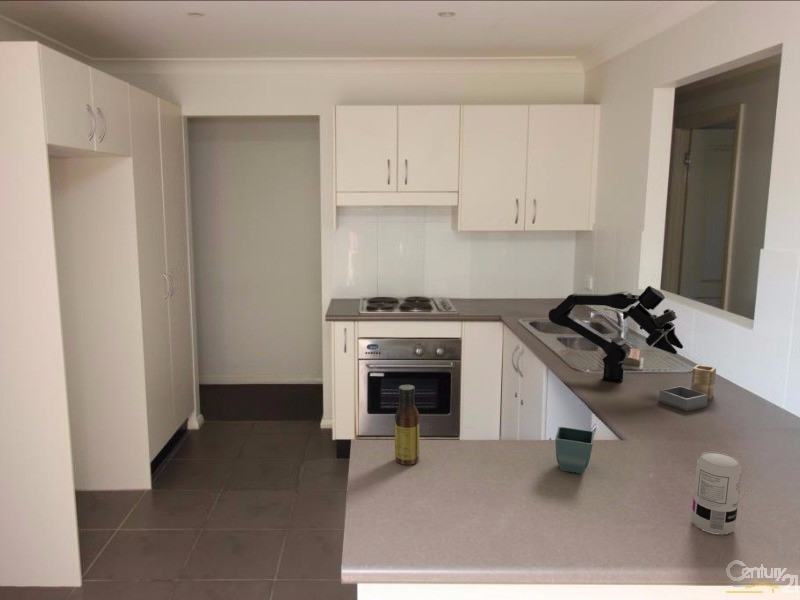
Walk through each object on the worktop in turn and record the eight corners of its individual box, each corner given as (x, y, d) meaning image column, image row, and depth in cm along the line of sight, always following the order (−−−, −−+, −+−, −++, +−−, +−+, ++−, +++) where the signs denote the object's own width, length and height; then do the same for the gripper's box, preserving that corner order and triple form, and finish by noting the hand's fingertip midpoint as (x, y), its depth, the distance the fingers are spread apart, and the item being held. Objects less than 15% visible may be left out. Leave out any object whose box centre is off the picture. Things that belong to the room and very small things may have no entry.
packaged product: (618, 346, 263) (644, 348, 259) (618, 357, 264) (643, 360, 260) (616, 356, 246) (643, 359, 243) (615, 368, 247) (642, 371, 244)
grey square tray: (658, 401, 208) (660, 390, 207) (679, 397, 213) (680, 385, 212) (685, 411, 199) (687, 399, 199) (706, 406, 204) (708, 394, 203)
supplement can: (683, 516, 135) (689, 450, 133) (720, 515, 136) (727, 450, 133) (704, 537, 127) (712, 468, 125) (743, 536, 128) (751, 466, 125)
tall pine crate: (690, 396, 214) (693, 368, 212) (694, 392, 218) (697, 364, 217) (709, 400, 210) (712, 371, 208) (713, 395, 215) (716, 367, 213)
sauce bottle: (407, 453, 165) (408, 380, 162) (424, 461, 161) (426, 386, 157) (388, 461, 161) (389, 386, 157) (406, 468, 156) (407, 392, 153)
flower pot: (591, 464, 160) (594, 430, 159) (590, 479, 152) (592, 443, 151) (556, 458, 163) (558, 426, 162) (553, 473, 155) (555, 438, 153)
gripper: (653, 306, 211) (690, 339, 206) (666, 299, 226) (702, 329, 221) (630, 329, 216) (666, 362, 211) (645, 320, 231) (679, 351, 226)
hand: (679, 350), depth 217 cm, fingers open, 9 cm apart
